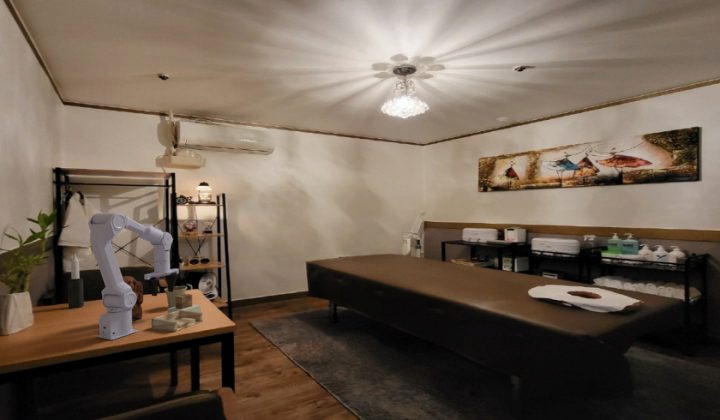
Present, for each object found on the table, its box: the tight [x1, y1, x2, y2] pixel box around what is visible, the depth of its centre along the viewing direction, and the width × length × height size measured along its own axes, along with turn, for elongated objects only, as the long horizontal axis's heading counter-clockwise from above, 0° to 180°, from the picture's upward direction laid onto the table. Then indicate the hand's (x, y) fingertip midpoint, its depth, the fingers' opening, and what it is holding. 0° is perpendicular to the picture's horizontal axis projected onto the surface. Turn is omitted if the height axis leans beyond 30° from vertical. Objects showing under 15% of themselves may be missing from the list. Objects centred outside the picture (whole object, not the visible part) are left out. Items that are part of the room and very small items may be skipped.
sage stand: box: [167, 303, 202, 314], centre depth 157 cm, size 9×9×3 cm
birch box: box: [150, 310, 203, 333], centre depth 143 cm, size 13×12×4 cm
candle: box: [67, 253, 85, 310], centre depth 172 cm, size 5×5×25 cm
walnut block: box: [175, 293, 193, 309], centre depth 157 cm, size 5×4×5 cm
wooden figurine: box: [122, 275, 144, 322], centre depth 150 cm, size 12×6×18 cm, turn 140°
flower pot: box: [163, 285, 188, 309], centre depth 169 cm, size 9×9×9 cm
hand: (162, 293), depth 153 cm, fingers open, 7 cm apart
